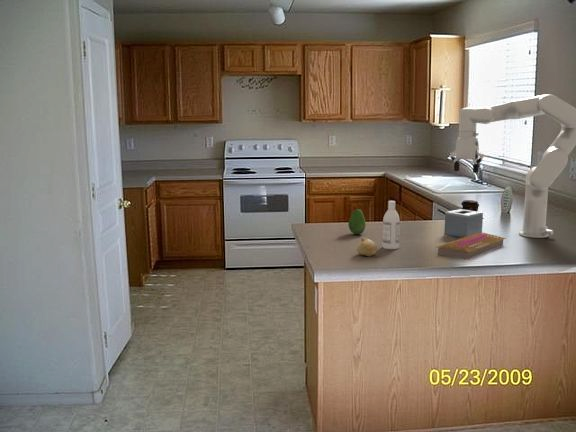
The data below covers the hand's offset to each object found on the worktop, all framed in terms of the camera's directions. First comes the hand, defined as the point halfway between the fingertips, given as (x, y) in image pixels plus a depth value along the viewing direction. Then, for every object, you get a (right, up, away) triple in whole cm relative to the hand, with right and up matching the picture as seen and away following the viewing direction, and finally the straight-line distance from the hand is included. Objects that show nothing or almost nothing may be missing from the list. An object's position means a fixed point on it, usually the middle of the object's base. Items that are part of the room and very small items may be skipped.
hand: (465, 171), depth 283 cm
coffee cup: (+6, -26, +17) cm, 32 cm away
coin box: (-2, -30, -4) cm, 30 cm away
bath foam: (-40, -34, -27) cm, 59 cm away
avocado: (-51, -30, 0) cm, 59 cm away
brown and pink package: (-7, -35, -30) cm, 47 cm away
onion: (-52, -37, -39) cm, 74 cm away
